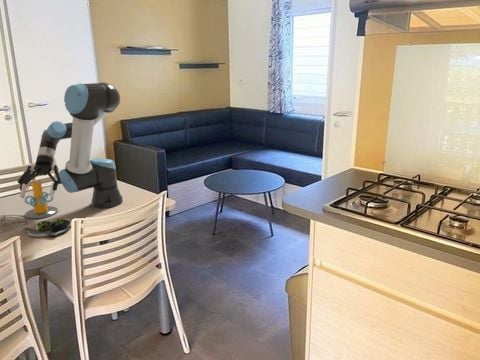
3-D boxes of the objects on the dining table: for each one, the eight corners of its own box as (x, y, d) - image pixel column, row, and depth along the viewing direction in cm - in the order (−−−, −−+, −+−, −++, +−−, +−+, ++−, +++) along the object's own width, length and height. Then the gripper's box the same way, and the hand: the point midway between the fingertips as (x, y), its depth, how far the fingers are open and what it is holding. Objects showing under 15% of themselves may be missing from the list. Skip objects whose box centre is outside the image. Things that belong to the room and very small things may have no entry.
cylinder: (42, 217, 178) (37, 186, 174) (22, 215, 180) (17, 185, 176) (59, 207, 190) (54, 178, 186) (40, 206, 192) (35, 177, 187)
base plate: (64, 210, 189) (63, 208, 189) (40, 221, 177) (39, 219, 176) (43, 206, 194) (43, 204, 194) (18, 216, 182) (18, 214, 182)
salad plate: (14, 241, 158) (12, 230, 157) (33, 223, 175) (31, 214, 174) (63, 238, 159) (61, 228, 158) (77, 221, 176) (75, 212, 175)
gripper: (73, 161, 194) (66, 199, 184) (23, 162, 193) (13, 200, 183) (68, 153, 188) (60, 192, 178) (16, 154, 187) (5, 194, 177)
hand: (36, 196), depth 181 cm, fingers open, 13 cm apart
